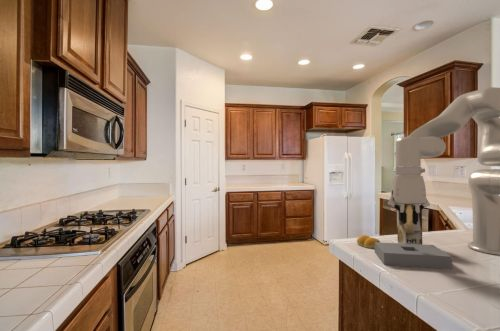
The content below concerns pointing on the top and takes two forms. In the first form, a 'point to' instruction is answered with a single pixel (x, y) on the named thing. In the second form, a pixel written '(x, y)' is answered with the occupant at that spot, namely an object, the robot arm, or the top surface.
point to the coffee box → (410, 237)
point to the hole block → (412, 255)
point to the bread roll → (367, 241)
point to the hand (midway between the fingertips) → (408, 222)
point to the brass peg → (409, 218)
